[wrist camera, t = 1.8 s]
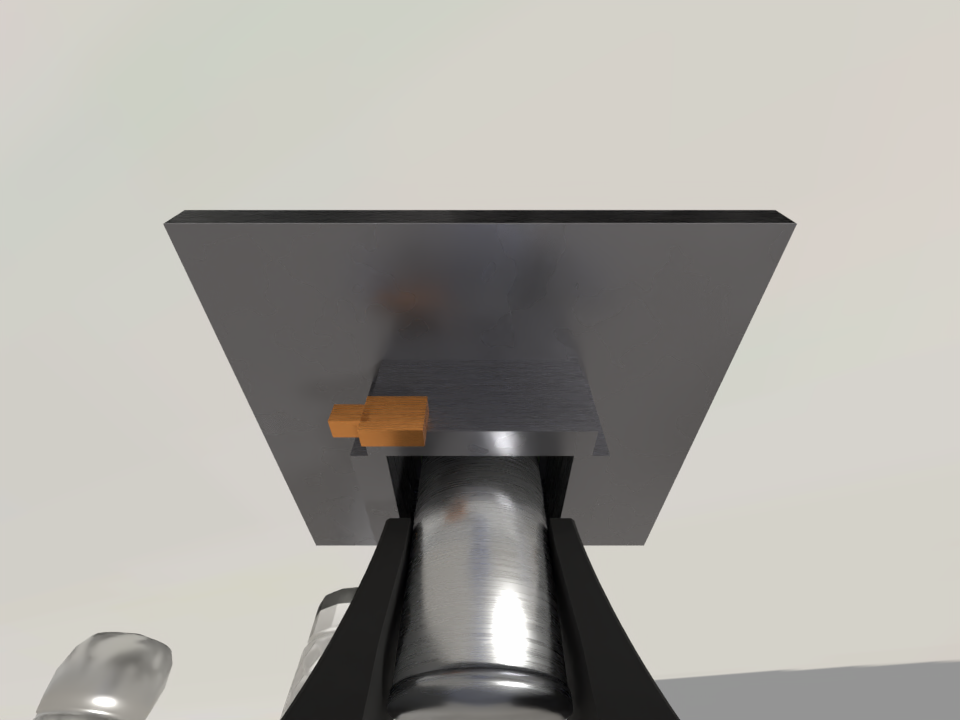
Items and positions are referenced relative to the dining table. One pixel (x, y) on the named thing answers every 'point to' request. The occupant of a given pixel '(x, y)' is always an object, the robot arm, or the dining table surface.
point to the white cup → (320, 637)
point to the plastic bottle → (108, 679)
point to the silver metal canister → (480, 598)
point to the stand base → (480, 347)
